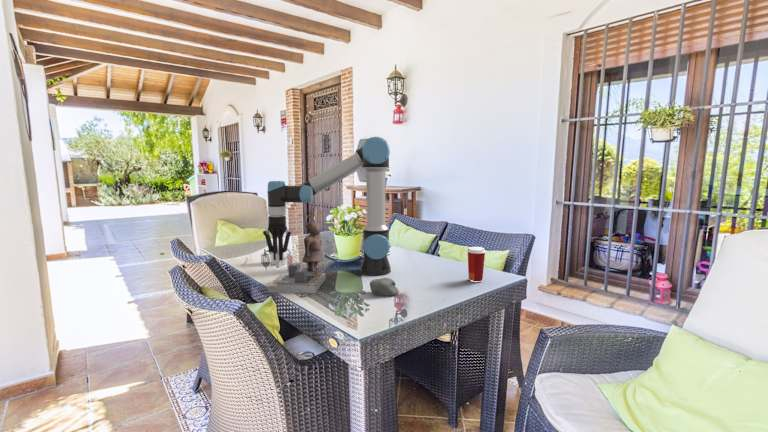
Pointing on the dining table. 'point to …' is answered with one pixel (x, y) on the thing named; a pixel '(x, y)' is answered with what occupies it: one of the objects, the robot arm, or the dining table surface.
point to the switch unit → (297, 283)
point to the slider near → (301, 275)
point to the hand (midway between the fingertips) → (278, 267)
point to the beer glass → (476, 263)
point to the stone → (383, 287)
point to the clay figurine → (313, 246)
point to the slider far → (293, 268)
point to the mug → (283, 256)
